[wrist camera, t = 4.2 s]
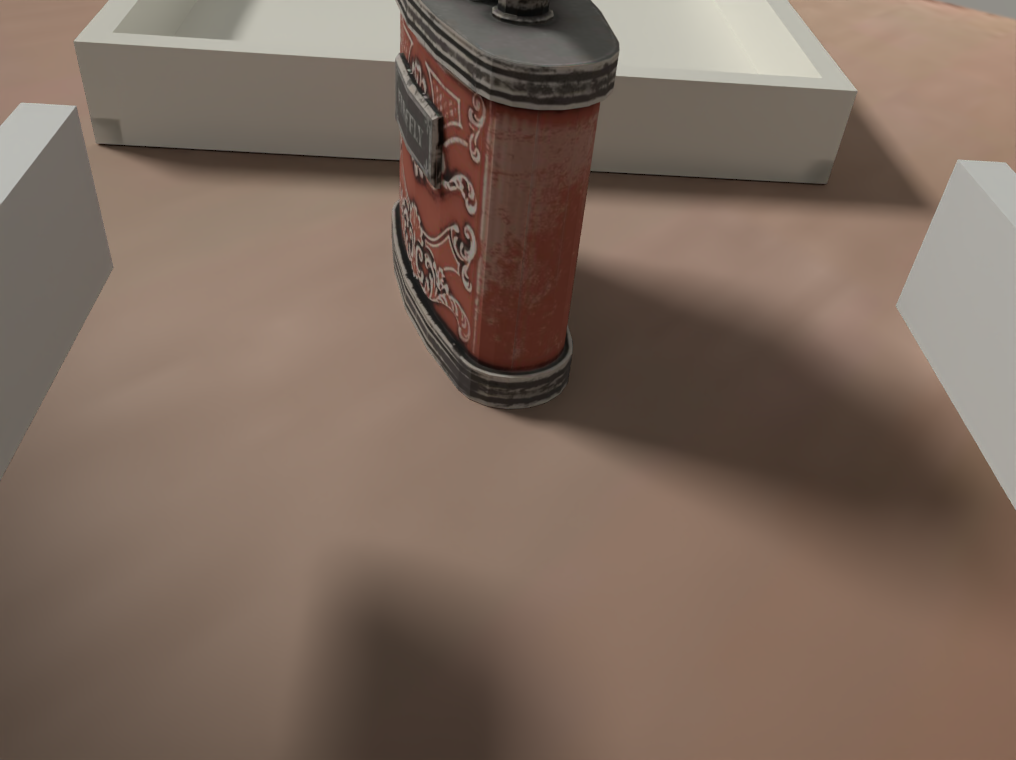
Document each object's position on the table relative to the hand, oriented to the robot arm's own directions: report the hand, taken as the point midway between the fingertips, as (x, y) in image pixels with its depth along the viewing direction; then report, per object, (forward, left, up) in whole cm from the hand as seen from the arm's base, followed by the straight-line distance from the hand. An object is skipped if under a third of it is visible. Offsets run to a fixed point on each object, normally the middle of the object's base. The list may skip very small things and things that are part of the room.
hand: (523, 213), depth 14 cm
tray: (0, +24, -6) cm, 25 cm away
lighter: (0, +6, -6) cm, 9 cm away
